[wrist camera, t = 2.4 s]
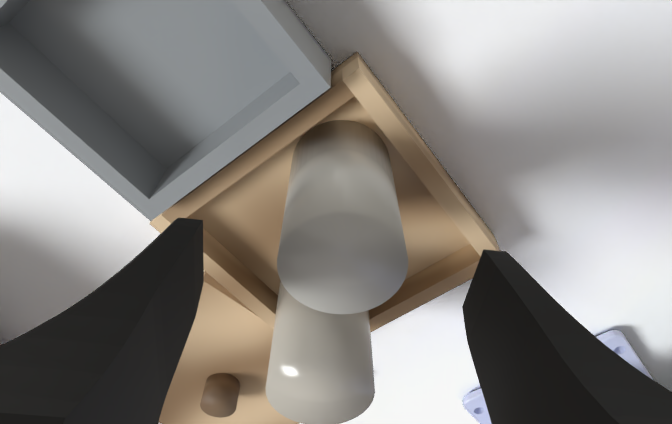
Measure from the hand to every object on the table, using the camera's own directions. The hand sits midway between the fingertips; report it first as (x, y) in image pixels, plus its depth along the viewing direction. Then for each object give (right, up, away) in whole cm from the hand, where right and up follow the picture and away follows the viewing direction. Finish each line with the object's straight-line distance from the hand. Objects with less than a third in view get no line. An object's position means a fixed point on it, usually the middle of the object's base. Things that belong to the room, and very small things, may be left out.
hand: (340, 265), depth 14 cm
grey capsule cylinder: (-1, -1, +7) cm, 8 cm away
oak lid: (-5, -6, +11) cm, 14 cm away
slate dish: (-5, +7, +3) cm, 9 cm away
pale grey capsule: (0, +3, +5) cm, 6 cm away
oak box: (0, +1, +6) cm, 7 cm away
